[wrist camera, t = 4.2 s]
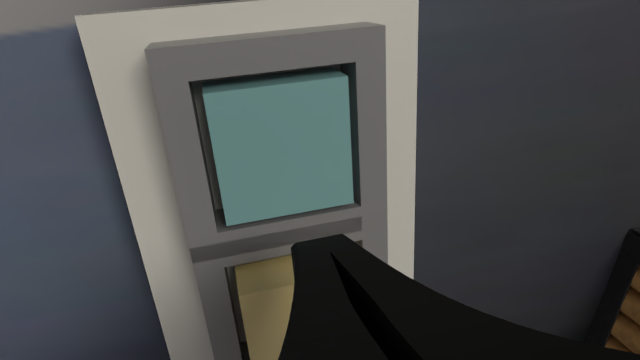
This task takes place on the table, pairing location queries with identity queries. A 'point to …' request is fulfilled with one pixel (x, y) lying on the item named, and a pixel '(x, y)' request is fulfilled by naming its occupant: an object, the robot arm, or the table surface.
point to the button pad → (197, 154)
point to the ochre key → (265, 304)
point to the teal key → (281, 143)
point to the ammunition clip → (620, 302)
